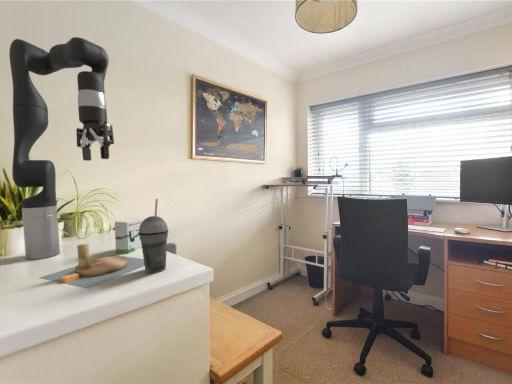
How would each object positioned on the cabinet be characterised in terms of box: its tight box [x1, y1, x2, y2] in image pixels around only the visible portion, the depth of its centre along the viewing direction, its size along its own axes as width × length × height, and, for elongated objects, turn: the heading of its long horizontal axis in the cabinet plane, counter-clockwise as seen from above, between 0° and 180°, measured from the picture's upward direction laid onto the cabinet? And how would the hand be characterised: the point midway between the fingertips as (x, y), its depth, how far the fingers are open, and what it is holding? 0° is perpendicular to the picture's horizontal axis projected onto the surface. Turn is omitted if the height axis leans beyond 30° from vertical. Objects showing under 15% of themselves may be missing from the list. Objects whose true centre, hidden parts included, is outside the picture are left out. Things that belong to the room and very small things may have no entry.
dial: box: [74, 243, 127, 277], centre depth 69 cm, size 12×12×8 cm
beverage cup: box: [138, 198, 169, 274], centre depth 66 cm, size 7×7×20 cm
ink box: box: [114, 218, 144, 255], centre depth 88 cm, size 9×5×12 cm, turn 169°
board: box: [39, 254, 145, 289], centre depth 69 cm, size 19×20×2 cm
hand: (96, 159), depth 81 cm, fingers open, 8 cm apart
